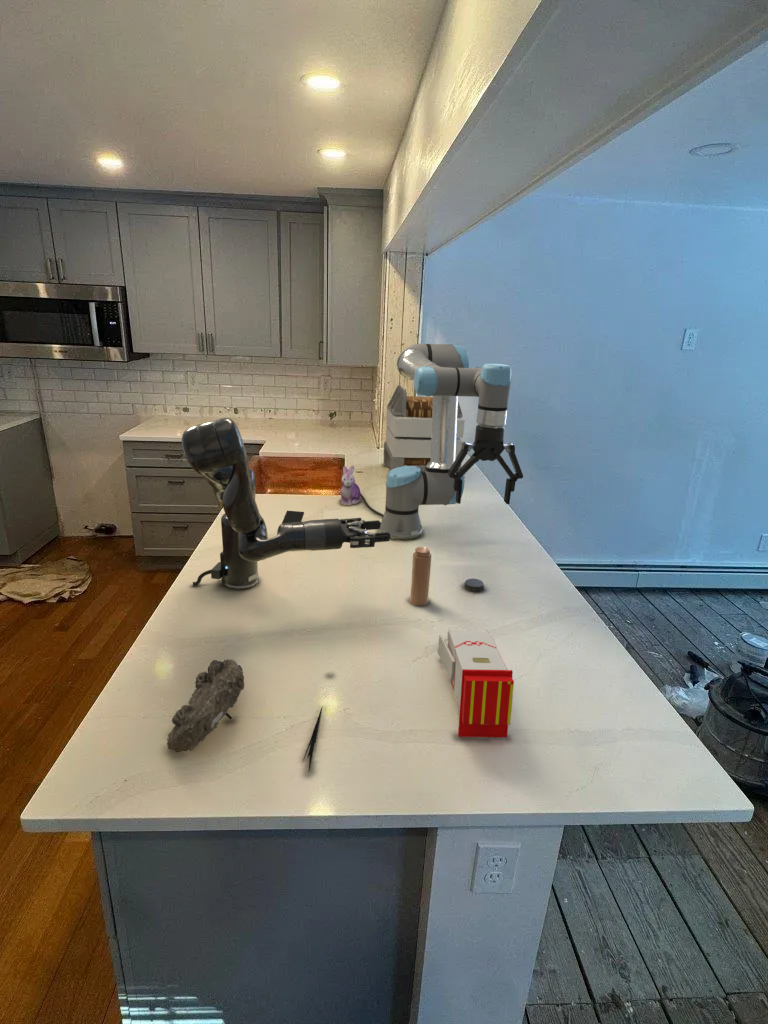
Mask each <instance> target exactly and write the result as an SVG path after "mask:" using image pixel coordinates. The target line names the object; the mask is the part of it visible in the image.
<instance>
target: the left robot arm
mask: <svg viewBox="0 0 768 1024" xmlns="http://www.w3.org/2000/svg"><path fill="white" fill-rule="evenodd" d="M181 448H182V452H183V455H184V457H185V459H186V462H188V464H189V465H190V467H191V468H192V469H193V470H194V471H195V472H196V473H197V474H198V475H200V476H202V477H203V479H204V480H205V481H206V482H207V484H208V485H209V486H210V487H211V489H212V492H213V495H214V497H215V499H216V500H217V501H218V502H219V503H222V508H223V511H224V513H223V515H221V518H220V528H221V541H222V542H221V543H222V551H221V552H220V554H219V558H220V559H219V560H220V561H218V562H217V563H216V564H215V565H214V566H213V567H212V568H211V569H209V570H206V571H203V572H202V573H200V574H199V575H198V577H197V580H196V581H192V586H195V587H196V586H199V585H200V584H201V582H202V579H203V578H204V577H205V576H208V575H211V576H210V579H213V580H221V585H222V586H226V587H227V588H229V589H234V590H243V589H250V588H252V587H254V586H256V585H257V584H258V583H259V568H258V566H259V565H258V562H261V561H264V560H267V559H271V558H273V557H277V556H279V555H282V554H285V553H289V552H290V553H291V552H300V551H301V552H304V551H309V552H310V551H311V552H315V551H317V552H318V551H330V550H340V549H342V547H343V544H344V543H349V548H351V549H361V548H374V547H375V544H376V543H383V542H384V543H386V542H390V540H391V539H390V533H389V532H382V533H380V532H369V531H372V530H373V531H374V530H379V529H380V525H381V522H382V521H380V520H379V519H377V520H365V519H362V517H351V518H340V519H339V518H324V519H323V518H321V519H310V520H304V521H301V522H291V523H282V522H281V523H280V524H279V525H278V528H277V531H276V532H277V534H276V535H275V536H273V537H270V538H269V537H268V530H267V529H268V528H267V525H266V522H265V518H264V517H262V514H261V513H260V510H259V507H258V504H257V501H256V490H257V489H256V474H255V472H254V470H253V469H252V468H250V467H249V462H248V456H247V452H246V447H245V444H244V441H243V437H242V434H241V432H240V429H239V427H238V425H237V424H236V422H235V421H234V420H233V419H232V418H230V417H223V418H217V419H215V420H214V419H213V420H210V421H207V422H203V423H199V424H195V425H193V426H190V427H188V428H186V429H185V430H184V431H183V432H182V435H181Z"/></svg>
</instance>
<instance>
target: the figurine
mask: <svg viewBox="0 0 768 1024" xmlns="http://www.w3.org/2000/svg"><path fill="white" fill-rule="evenodd" d="M354 471H355V465H354V464H353V465H351V466H350V467H349V468H347V466H346V465H343V467H342V477H341V480H340V482H341V484H342V486H341V488H340V500H339V501H340V503H341V505H345V506H351V505H356V504H359V503H360V502H361V494H362V492H361V488H360V486H359V485H358V484H357V483H356V479H355V476H354Z"/></svg>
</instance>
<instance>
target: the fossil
mask: <svg viewBox="0 0 768 1024" xmlns="http://www.w3.org/2000/svg"><path fill="white" fill-rule="evenodd" d="M243 670H244V669H243V667H242V665H240V664H237V662H236V661H235V660H234V659H232V658H231V659H227V658H226V659H224V660H223V661H222V660H217V659H212V660H211V661H210V663H209V665H208V666H207V671H201V672H199V673H198V674H197V675H196V676H195V680H194V684H195V685H194V687H195V689H194V690H193V693H192V694H191V697H190V698H189V700H188V704H184V705H182V706H181V707H180V709H177V710H176V711H175V713H174V715H173V716H172V718H171V723H172V724H173V727H172V730H171V731H170V732H168V734H167V738H166V741H167V742H166V745H167V749H168V750H169V751H173V752H174V753H176V754H178V753H182V752H188V751H189V752H192V751H193V750H195V748H196V747H197V746H199V744H200V743H201V742H203V741H204V740H205V739H206V738H207V737H208V736H209V735H210V734H211V733H212V732H214V730H215V729H217V727H218V726H219V724H220V722H221V721H222V720H223V719H224V718H225V716H226V717H227V719H229V720H233V717H232V715H230V714H229V710H230V709H231V708H234V706H235V704H236V703H237V702H238V699H239V697H240V695H241V693H242V691H243V690H245V689H244V688H245V675H244V671H243Z"/></svg>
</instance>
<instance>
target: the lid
mask: <svg viewBox="0 0 768 1024" xmlns="http://www.w3.org/2000/svg"><path fill="white" fill-rule="evenodd" d="M484 585H485V584H484V581H483V580H481V579H478V578H467V579H465V581H464V589H465V590H466V591H469V592H472V593H479V592H482V591H483V590H484V587H485V586H484Z"/></svg>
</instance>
